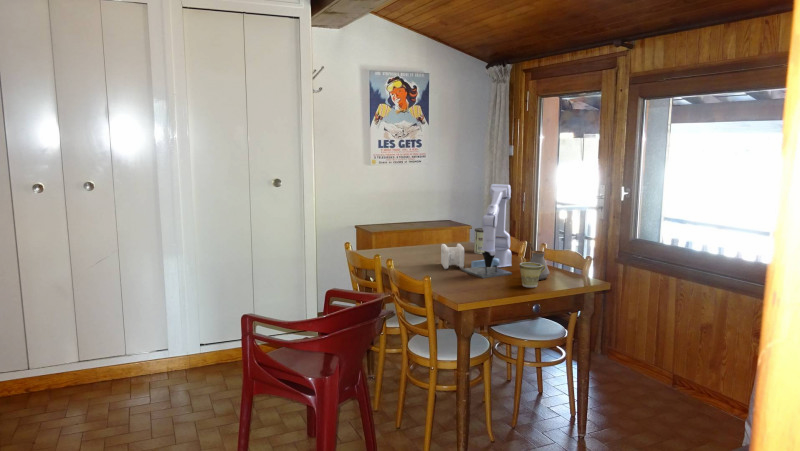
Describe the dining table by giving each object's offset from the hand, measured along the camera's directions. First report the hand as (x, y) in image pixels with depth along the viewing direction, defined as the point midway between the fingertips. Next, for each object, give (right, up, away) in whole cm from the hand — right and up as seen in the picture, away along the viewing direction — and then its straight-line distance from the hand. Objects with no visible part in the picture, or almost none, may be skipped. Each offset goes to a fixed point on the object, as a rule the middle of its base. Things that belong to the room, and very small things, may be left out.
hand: (488, 267), depth 274 cm
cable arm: (0, 0, +5) cm, 5 cm away
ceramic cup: (+18, -8, -16) cm, 25 cm away
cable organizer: (-16, -2, +20) cm, 26 cm away
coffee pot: (+23, -5, +4) cm, 24 cm away
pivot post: (+5, -3, +8) cm, 10 cm away
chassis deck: (0, -3, +8) cm, 9 cm away
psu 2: (-4, -4, +4) cm, 7 cm away
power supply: (+1, -4, +6) cm, 7 cm away
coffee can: (+6, +4, +59) cm, 60 cm away
